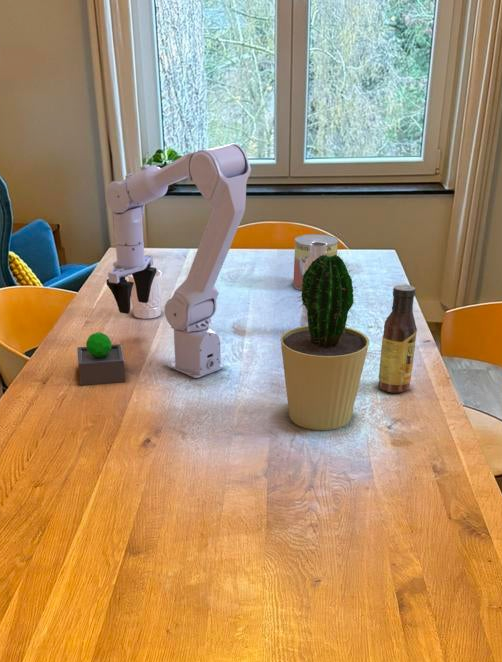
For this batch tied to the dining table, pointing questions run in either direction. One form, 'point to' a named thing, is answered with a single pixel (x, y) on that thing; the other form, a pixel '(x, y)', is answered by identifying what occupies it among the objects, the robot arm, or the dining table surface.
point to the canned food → (303, 253)
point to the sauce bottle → (398, 342)
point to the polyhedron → (98, 345)
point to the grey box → (101, 366)
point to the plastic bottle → (315, 251)
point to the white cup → (154, 302)
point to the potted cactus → (324, 349)
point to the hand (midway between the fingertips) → (134, 307)
